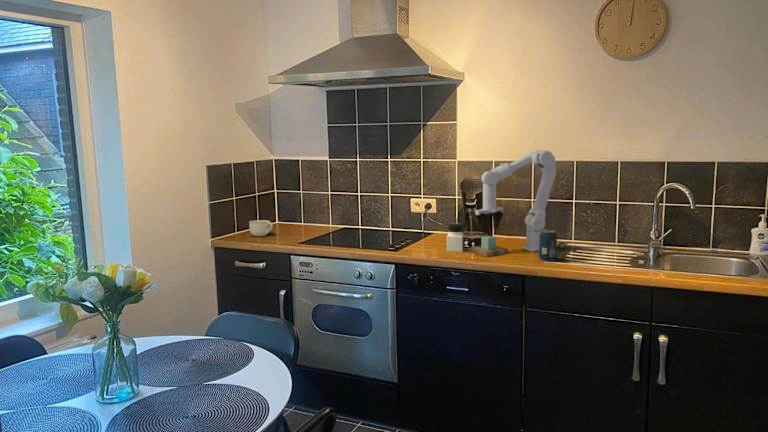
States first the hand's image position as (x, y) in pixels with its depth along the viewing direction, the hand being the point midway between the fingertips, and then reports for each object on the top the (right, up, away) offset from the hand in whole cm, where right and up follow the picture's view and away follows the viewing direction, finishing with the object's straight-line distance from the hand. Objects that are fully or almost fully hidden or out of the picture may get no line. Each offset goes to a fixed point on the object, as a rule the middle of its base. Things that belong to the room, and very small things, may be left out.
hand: (489, 229), depth 265 cm
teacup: (-110, -5, +52) cm, 122 cm away
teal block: (-1, -8, -2) cm, 8 cm away
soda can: (+21, -12, -17) cm, 30 cm away
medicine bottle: (-14, -10, +5) cm, 18 cm away
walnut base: (-1, -10, -1) cm, 10 cm away
